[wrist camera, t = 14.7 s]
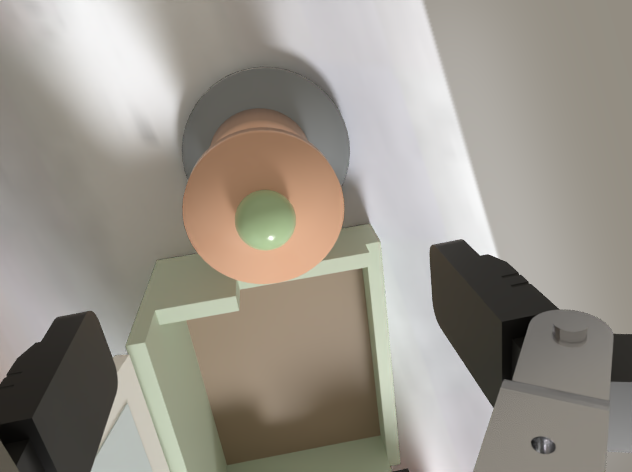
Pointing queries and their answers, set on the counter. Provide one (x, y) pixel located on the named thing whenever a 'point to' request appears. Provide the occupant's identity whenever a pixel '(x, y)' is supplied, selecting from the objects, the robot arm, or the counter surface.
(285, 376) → the box
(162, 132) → the counter surface
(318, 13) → the counter surface
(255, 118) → the terracotta pot
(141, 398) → the glass lid
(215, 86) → the slate saucer
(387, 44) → the counter surface
